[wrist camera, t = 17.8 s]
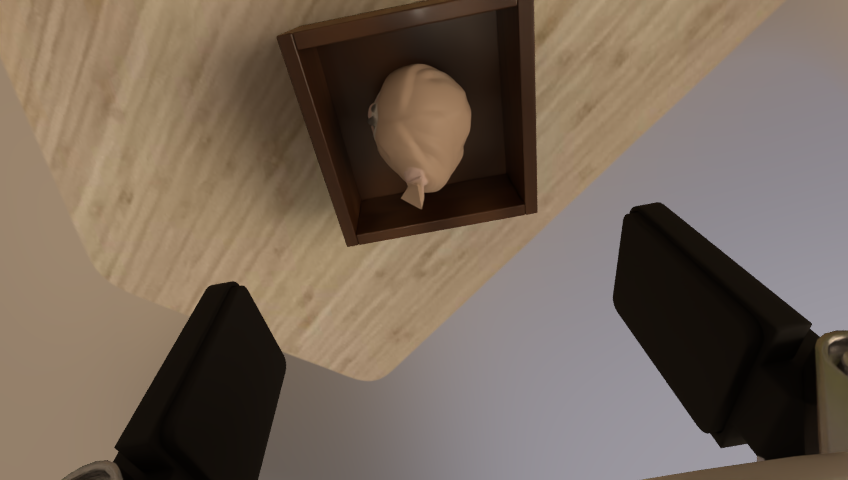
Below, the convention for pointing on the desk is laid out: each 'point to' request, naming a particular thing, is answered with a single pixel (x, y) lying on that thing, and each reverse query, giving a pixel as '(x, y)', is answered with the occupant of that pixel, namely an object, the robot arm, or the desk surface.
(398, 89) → the garlic bulb
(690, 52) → the desk surface
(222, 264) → the desk surface
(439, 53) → the holder
